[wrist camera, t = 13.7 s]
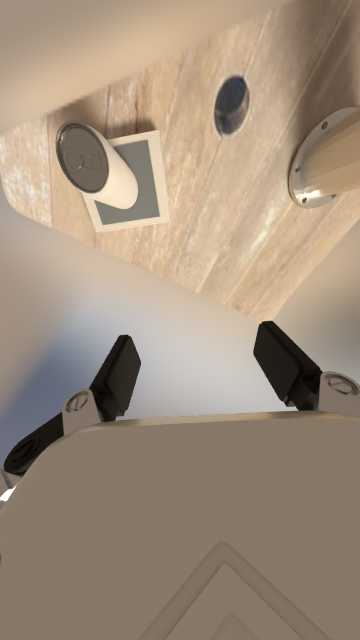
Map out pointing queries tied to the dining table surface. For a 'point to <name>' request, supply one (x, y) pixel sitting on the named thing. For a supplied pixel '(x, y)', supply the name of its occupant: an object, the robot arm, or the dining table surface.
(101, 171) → the can
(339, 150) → the robot arm
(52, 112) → the dining table surface
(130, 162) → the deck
